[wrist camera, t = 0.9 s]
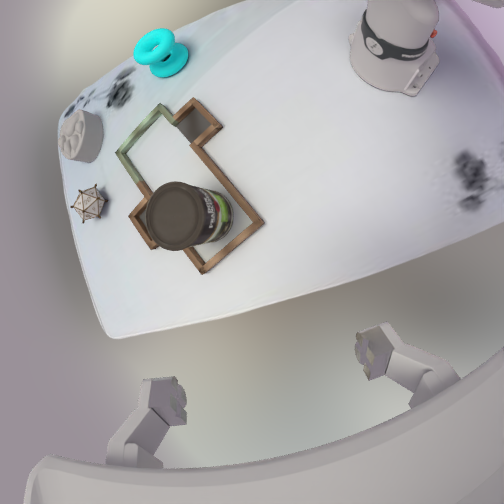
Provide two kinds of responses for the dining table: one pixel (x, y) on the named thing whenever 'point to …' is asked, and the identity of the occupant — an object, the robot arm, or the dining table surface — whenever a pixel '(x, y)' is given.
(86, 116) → the lumpy-topped squat cylinder
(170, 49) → the donuts
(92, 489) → the robot arm
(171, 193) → the coffee can
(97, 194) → the game die
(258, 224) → the brown wooden frame
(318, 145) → the dining table surface
